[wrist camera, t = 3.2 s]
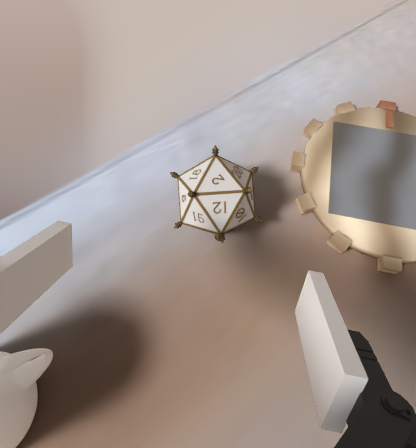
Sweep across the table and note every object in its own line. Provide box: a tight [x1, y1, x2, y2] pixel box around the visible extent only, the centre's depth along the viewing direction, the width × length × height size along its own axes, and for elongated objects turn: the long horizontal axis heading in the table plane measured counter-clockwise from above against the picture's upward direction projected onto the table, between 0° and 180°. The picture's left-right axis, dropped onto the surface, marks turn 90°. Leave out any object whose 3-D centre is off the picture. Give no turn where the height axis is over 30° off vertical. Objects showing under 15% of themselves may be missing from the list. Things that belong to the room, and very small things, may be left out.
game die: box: [170, 145, 263, 243], centre depth 29 cm, size 9×8×10 cm
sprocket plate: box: [290, 100, 416, 274], centre depth 34 cm, size 21×21×1 cm
